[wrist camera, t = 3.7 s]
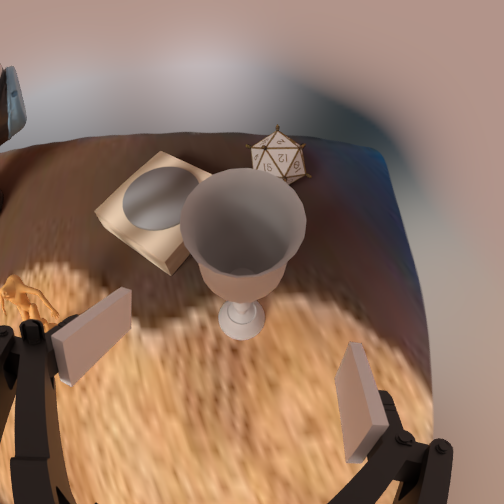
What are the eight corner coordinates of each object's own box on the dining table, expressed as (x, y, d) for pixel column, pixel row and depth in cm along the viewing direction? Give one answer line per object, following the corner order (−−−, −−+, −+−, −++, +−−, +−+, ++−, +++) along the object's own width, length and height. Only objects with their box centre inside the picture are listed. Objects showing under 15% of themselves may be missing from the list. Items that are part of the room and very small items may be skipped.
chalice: (214, 284, 33) (193, 165, 17) (274, 288, 33) (303, 172, 17) (206, 347, 29) (166, 272, 14) (271, 352, 29) (308, 282, 14)
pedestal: (103, 226, 36) (93, 208, 33) (164, 167, 42) (160, 148, 39) (171, 276, 33) (163, 259, 30) (234, 202, 39) (234, 182, 35)
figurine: (36, 357, 27) (-29, 326, 16) (41, 312, 30) (-17, 269, 19) (89, 363, 27) (25, 334, 17) (92, 313, 30) (37, 267, 20)
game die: (266, 188, 45) (264, 125, 41) (318, 193, 41) (318, 125, 37) (235, 200, 38) (231, 125, 34) (295, 207, 34) (294, 122, 30)
